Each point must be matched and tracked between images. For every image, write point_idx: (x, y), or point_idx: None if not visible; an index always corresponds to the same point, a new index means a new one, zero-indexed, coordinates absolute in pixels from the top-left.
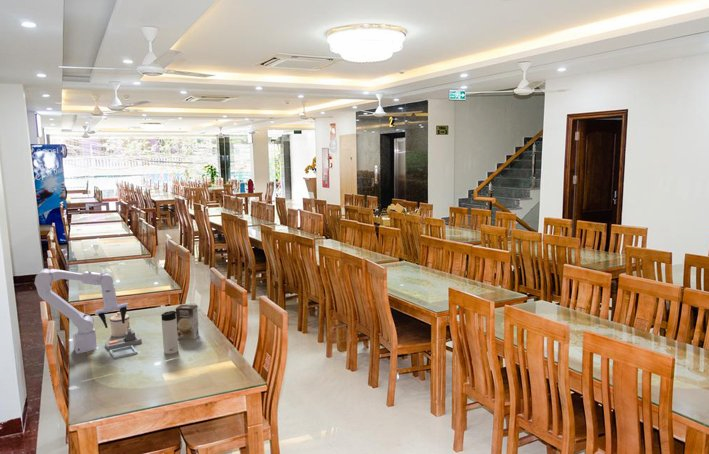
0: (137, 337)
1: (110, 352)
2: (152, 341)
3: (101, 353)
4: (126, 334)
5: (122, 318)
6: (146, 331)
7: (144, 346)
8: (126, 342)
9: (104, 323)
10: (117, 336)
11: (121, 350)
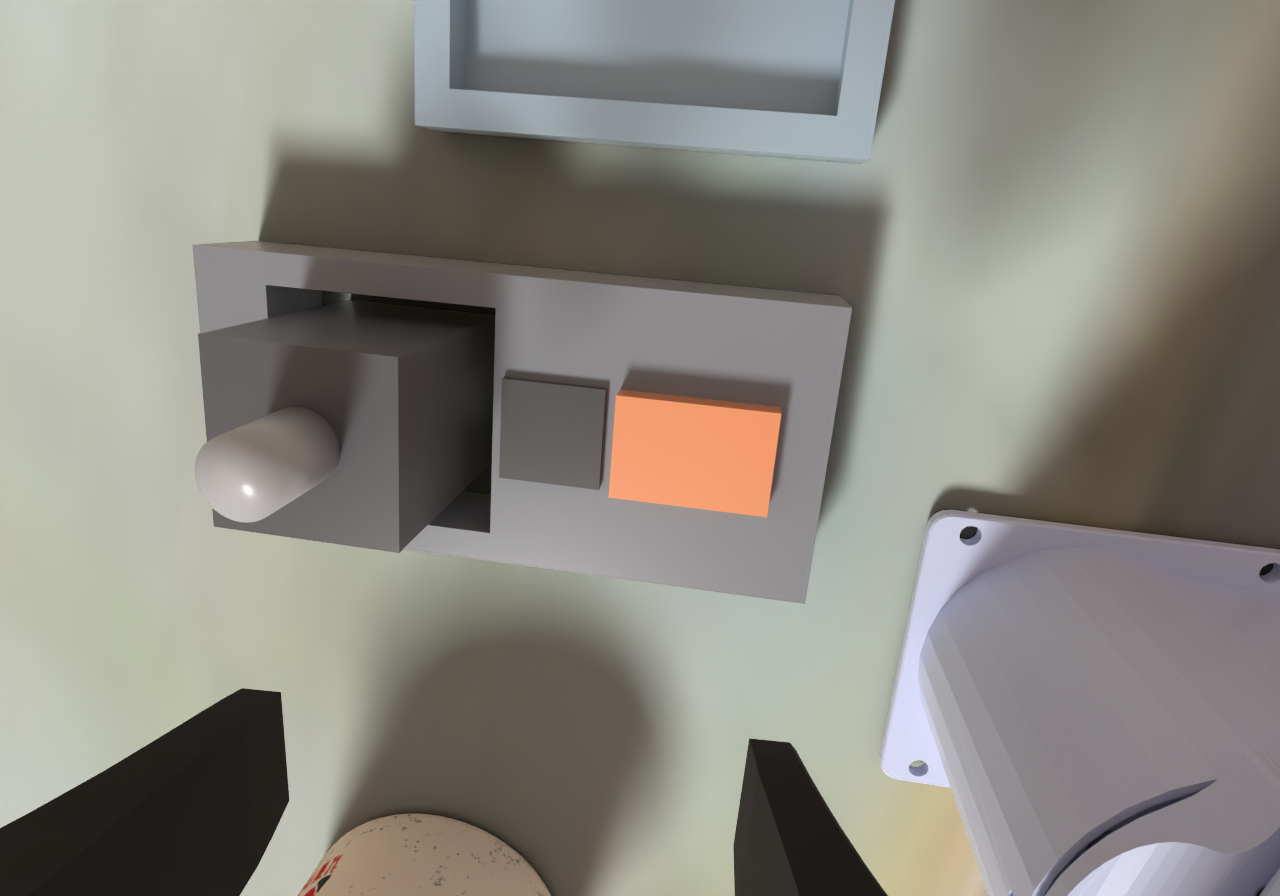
0: None
1: (888, 31)
2: (83, 242)
3: (970, 292)
4: (387, 358)
5: (164, 823)
6: (112, 755)
7: (239, 75)
8: (478, 273)
9: (862, 864)
10: (507, 847)
11: (648, 93)
